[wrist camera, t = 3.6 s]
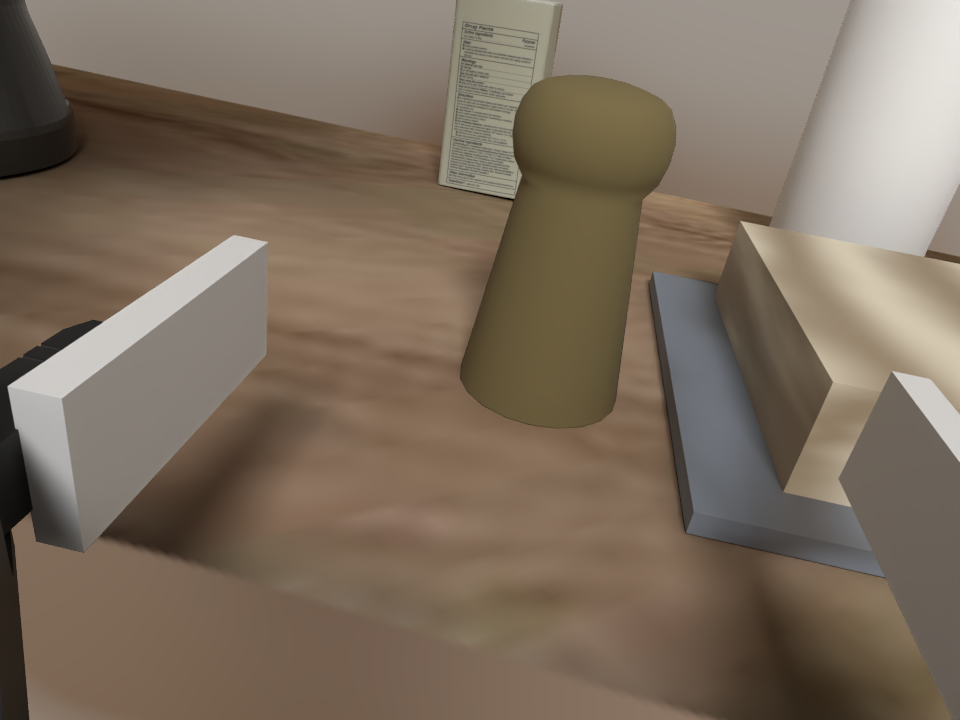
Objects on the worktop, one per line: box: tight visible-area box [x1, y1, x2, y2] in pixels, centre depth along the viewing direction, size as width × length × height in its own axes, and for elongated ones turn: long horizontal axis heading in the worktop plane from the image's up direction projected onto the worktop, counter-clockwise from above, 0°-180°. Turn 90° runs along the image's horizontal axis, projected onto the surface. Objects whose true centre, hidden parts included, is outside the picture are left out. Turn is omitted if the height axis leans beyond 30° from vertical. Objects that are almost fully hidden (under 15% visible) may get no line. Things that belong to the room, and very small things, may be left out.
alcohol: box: [769, 0, 960, 257], centre depth 38 cm, size 9×9×30 cm
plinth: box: [649, 221, 960, 577], centre depth 28 cm, size 22×20×5 cm
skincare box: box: [438, 0, 563, 199], centre depth 48 cm, size 6×4×12 cm
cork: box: [460, 75, 676, 428], centre depth 25 cm, size 6×6×11 cm
